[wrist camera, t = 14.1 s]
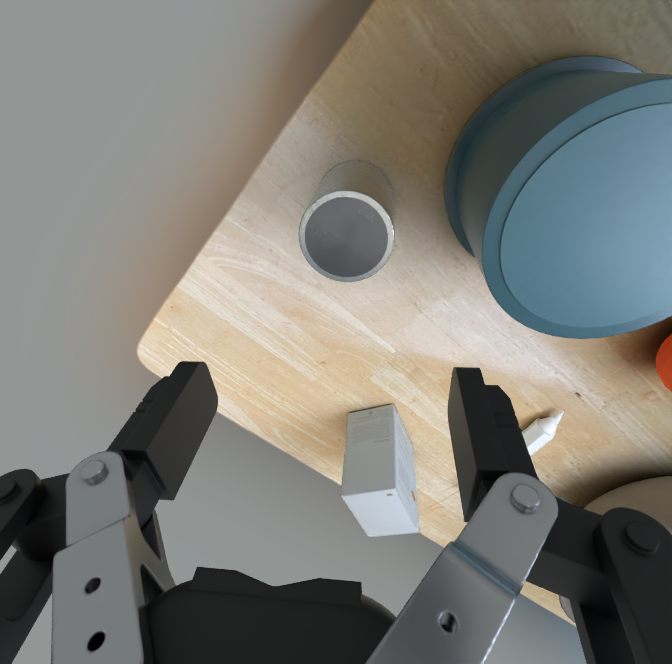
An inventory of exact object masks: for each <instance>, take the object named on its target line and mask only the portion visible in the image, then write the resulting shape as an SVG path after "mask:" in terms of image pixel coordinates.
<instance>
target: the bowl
mask: <svg viewBox="0 0 672 664" xmlns="http://www.w3.org/2000/svg"><path fill="white" fill-rule="evenodd" d="M618 507H625V508H631V509H635V510H638V511H640V512H643V513H645V514H647V515H649V516H650V517H652V518H654V519H655V520H657V521H658V522H659V523H660V524H662V525H663V526H664V527H665V528H666V529H667V530H668V531H669V532H670V533H671V535H672V476H666V477H657V478H651V479H646V480H641V481H637V482H633V483H630V484H627V485H624V486H621V487H618V488H616V489H614V490H611V491H609V492H607V493H605V494H603V495H601V496H600V497H598V498H596V499H595V500H593V501H592V502H590V503H589V504H588V505H587V506H585V507H584V508H583V509H585V510H588V511H591V512H594V513H597V514H600V515H604V514H605V513H606V512H607V511H608V510H610V509H613V508H618ZM559 600H560V604H561V607H562V609H563V610H564V612H565V613H566V615H567V616H568V617H569V618H570V619H571V620H572V621H573V622H574V623H575V619H574V615H573V612H572V608H571V604H570V601H569V599H567V598H565V597H563V596H560V595H559Z"/></svg>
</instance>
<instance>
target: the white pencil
mask: <svg viewBox="0 0 672 664" xmlns="http://www.w3.org/2000/svg"><path fill="white" fill-rule="evenodd" d="M564 412H565V411H563V412H560V413H558V414H556V415H553V416H551V417H548V418H544V419H540V418H537V419H536V420H535V421H534V422H533V423H531V424H530V425H529V426H528V427H527V428H526V429H525V430H523V431H522V435H523V438H524V440H525V443H526V446H527V449H528V452H529V455H530V456H531V455H532V454H534V453H535V452H536V451H537V450H539V449H540V448H541V447H542V446H544V445H545V444H546V443H547V442H549V441H550V440H551V439H553V438H554V436H555V430H556V428H557V425H558V423H559V421H560V419H561V417H562V416H563V414H564Z"/></svg>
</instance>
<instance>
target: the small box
mask: <svg viewBox="0 0 672 664" xmlns="http://www.w3.org/2000/svg"><path fill="white" fill-rule="evenodd" d="M341 498H342V499H343V500H344V502H345V503H346V505H347V506H348V508H349V509H350V511H351V512H352V514H353V515H354V516H355V518H356V519H357V521H358V522H359V524H360V525H361V527H362V528H363V530H364V531H365V533H366V534H367V535H368V537H371V536H372V537H373V536H385V535H396V534H407V533H417V532H419V517H418V504H417V491H416V478H415V465H414V451H413V446H412V444H411V442H410V439H409V437H408V435H407V433H406V431H405V428H404V426H403V424H402V422H401V420H400V417H399V415H398V413H397V411H396V409H395V406H394V404H391V405H387V406H382V407H377V408H373V409H368V410H363V411H358V412H353V413H349V414H348V423H347V433H346V444H345V454H344V465H343V475H342V486H341Z"/></svg>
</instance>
